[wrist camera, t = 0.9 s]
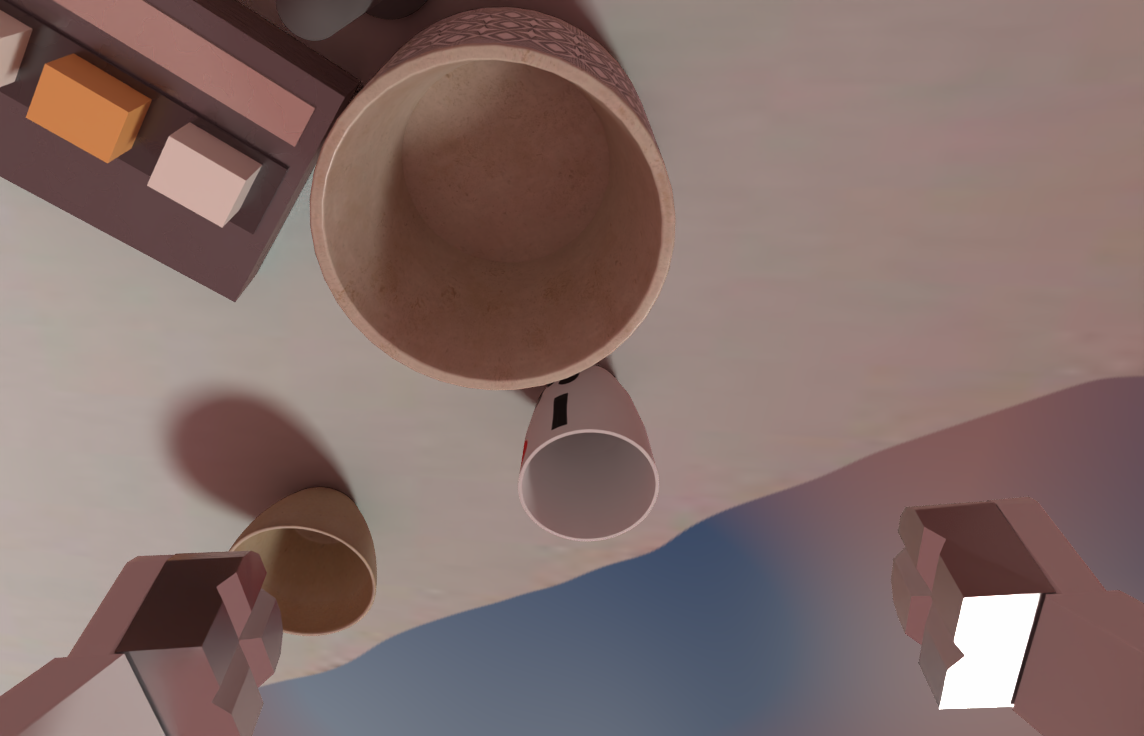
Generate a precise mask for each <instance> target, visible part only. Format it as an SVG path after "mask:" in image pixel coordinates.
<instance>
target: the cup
mask: <svg viewBox="0 0 1144 736" xmlns="http://www.w3.org/2000/svg"><path fill="white" fill-rule="evenodd" d="M518 491H519V497H520V500H521V503H522V506H523V508H524V509H525V511H526V513H527V514H528V515H529V517H530V518H531V519H532V520H533V521H534V522H535V523H536V524H537V525H539V526H540V527H541V528H543V529H544V530H546V531H548V532H550V533H552V534H554V535H556V536H559V537H562V538H565V539H570V540H576V541H598V540H604V539H609V538H612V537H615V536H618V535H621V534H623V533H625V532H627V531H629V530H630V529H632V528H634V527H635V526H636V525H638V524H639V523H640V522H641V521H642V520H643V519H644V518H645V517H646V516H647V515H648V514H649V512H650V511H651V509H652V508H653V506H654V504H655V502H656V499H657V496H658V491H659V477H658V472H657V468H656V465H655V461H654V457H653V454H652V450H651V447H650V443H649V439H648V436H647V432H646V429H645V426H644V424H643V422H642V420H641V418H640V416H639V414H638V412H637V410H636V408H635V406H634V403H633V401H632V399H631V397H630V396H629V394H628V393H627V391H626V390H625V389H624V388H623V387H622V385H621V384H620V383H619V382H618V381H617V380H616V379H615V377H614V376H613V375H612V374H611V373H610V372H608V371H607V370H606V369H604V368H602V367H599V366H597V365H593V366H591V367H590V368H587V369H585V370H583V371H581V372H579V373H577V374H575V375H572V376H570V377H568V378H566V379H562V380H559V381H556V382H552V383H549V384H548V386H547V387H546V388H545V390H544V391H543V393H542V394H541V396H540V397H539V399H538V401H537V404H536V407H535V410H534V413H533V416H532V418H531V421H530V424H529V427H528V430H527V433H526V437H525V443H524V449H523V456H522V462H521V469H520V475H519V482H518Z"/></svg>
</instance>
